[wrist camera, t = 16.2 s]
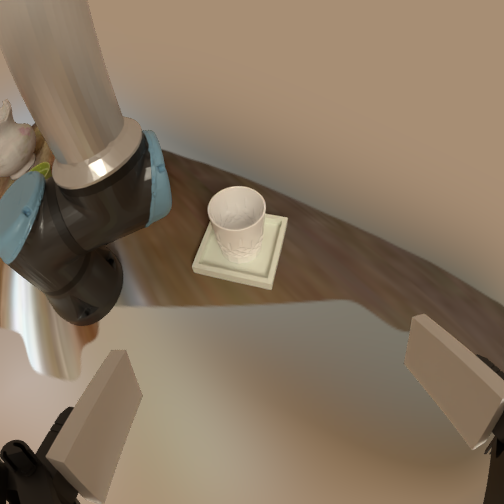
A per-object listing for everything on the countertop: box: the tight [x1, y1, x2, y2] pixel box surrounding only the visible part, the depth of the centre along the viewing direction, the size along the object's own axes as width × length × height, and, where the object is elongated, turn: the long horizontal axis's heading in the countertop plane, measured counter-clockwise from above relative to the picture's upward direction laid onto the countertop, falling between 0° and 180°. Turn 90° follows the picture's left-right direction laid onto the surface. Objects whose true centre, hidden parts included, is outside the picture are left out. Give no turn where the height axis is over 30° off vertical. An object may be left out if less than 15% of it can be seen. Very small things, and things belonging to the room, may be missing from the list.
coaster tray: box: [192, 214, 288, 290], centre depth 47 cm, size 13×13×2 cm
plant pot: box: [29, 162, 52, 179], centre depth 53 cm, size 9×9×9 cm
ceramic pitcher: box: [0, 99, 36, 180], centre depth 56 cm, size 22×20×25 cm
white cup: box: [208, 186, 266, 264], centre depth 43 cm, size 8×8×10 cm
